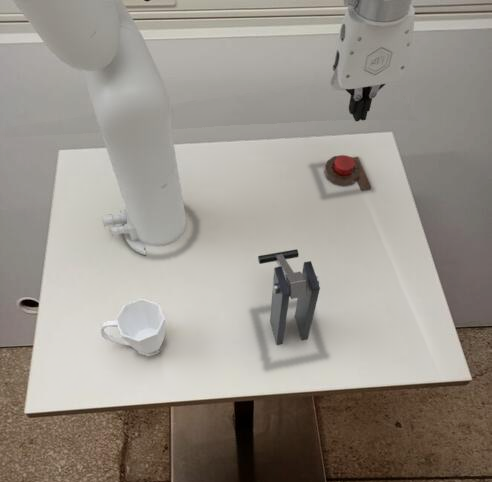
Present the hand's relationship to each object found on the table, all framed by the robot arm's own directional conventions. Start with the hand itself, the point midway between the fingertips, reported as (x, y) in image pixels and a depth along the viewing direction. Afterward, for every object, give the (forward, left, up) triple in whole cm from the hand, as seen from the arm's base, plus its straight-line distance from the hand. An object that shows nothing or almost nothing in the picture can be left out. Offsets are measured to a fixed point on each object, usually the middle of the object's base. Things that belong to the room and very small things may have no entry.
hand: (357, 115), depth 82 cm
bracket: (-18, -30, -14) cm, 38 cm away
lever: (-18, -27, -3) cm, 33 cm away
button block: (0, 0, -14) cm, 14 cm away
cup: (-41, -27, -14) cm, 51 cm away
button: (0, 0, -12) cm, 12 cm away
